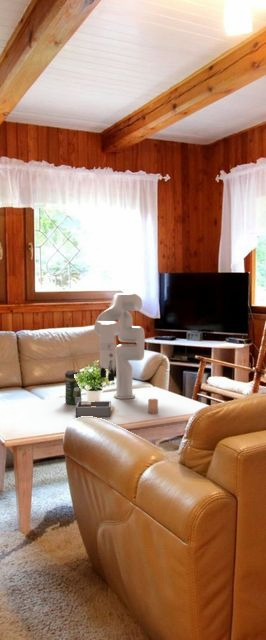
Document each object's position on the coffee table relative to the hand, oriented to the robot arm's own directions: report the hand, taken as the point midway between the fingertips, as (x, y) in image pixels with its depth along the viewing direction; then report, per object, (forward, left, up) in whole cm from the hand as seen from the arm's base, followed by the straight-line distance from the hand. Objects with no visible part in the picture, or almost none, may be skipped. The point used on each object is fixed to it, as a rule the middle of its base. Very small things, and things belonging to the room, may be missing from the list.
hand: (107, 379), depth 278 cm
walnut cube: (0, -11, -18) cm, 21 cm away
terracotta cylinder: (-1, +24, -18) cm, 30 cm away
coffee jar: (-24, -20, -18) cm, 36 cm away
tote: (0, -7, -18) cm, 19 cm away
